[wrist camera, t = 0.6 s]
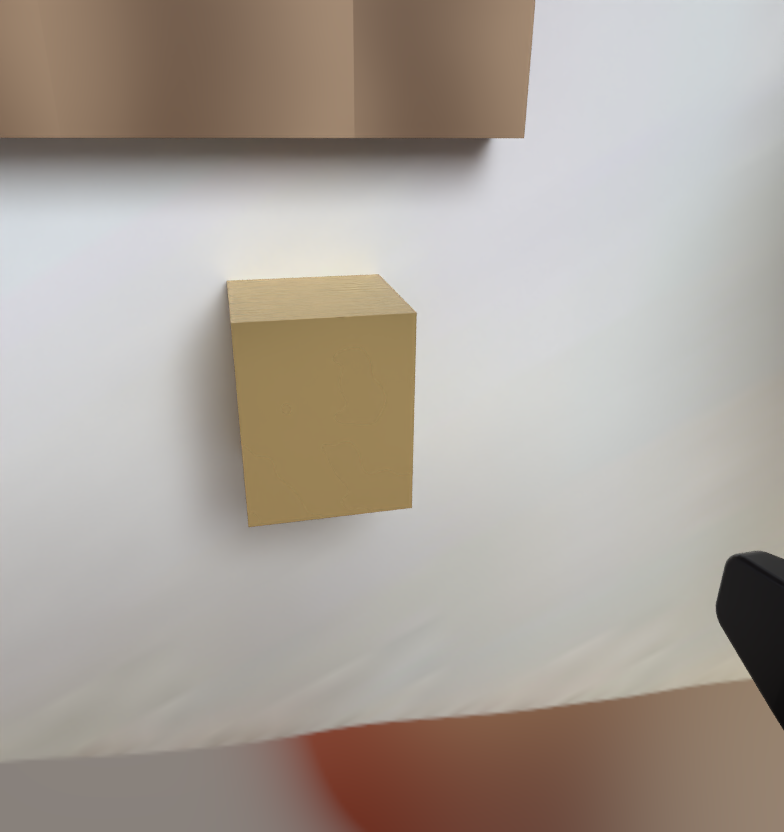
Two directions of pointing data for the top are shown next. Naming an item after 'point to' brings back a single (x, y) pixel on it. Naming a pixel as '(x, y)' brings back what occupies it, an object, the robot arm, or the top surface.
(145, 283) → the top surface
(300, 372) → the tan wooden block
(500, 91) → the brown square frame
